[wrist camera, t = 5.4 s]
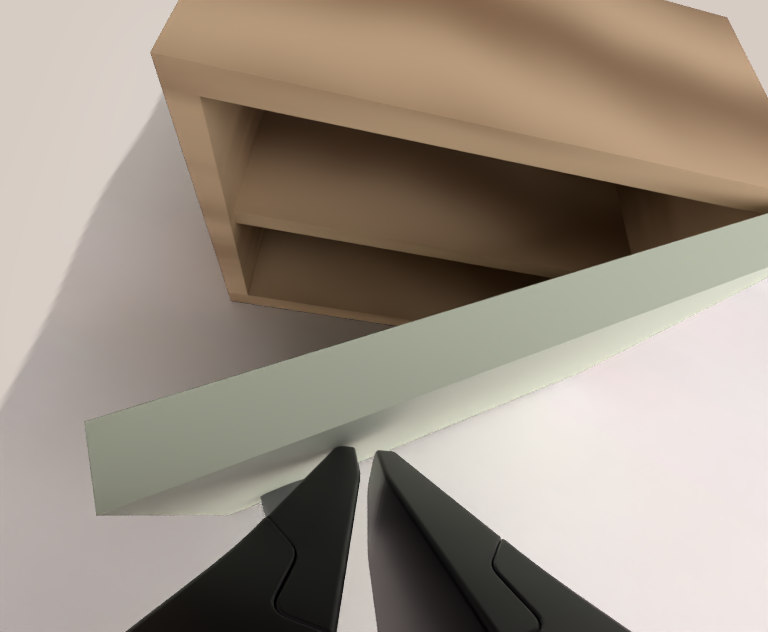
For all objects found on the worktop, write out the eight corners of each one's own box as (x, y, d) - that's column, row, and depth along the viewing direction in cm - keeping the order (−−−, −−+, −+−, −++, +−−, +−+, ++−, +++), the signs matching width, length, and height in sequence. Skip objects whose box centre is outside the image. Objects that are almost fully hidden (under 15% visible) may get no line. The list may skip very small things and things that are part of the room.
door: (601, 393, 19) (890, 276, 10) (238, 551, 14) (111, 626, 5) (573, 347, 20) (816, 198, 11) (221, 480, 15) (84, 421, 5)
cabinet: (568, 351, 20) (818, 199, 10) (230, 300, 18) (150, 52, 8) (551, 222, 24) (727, 17, 14) (268, 167, 22) (242, -116, 12)
